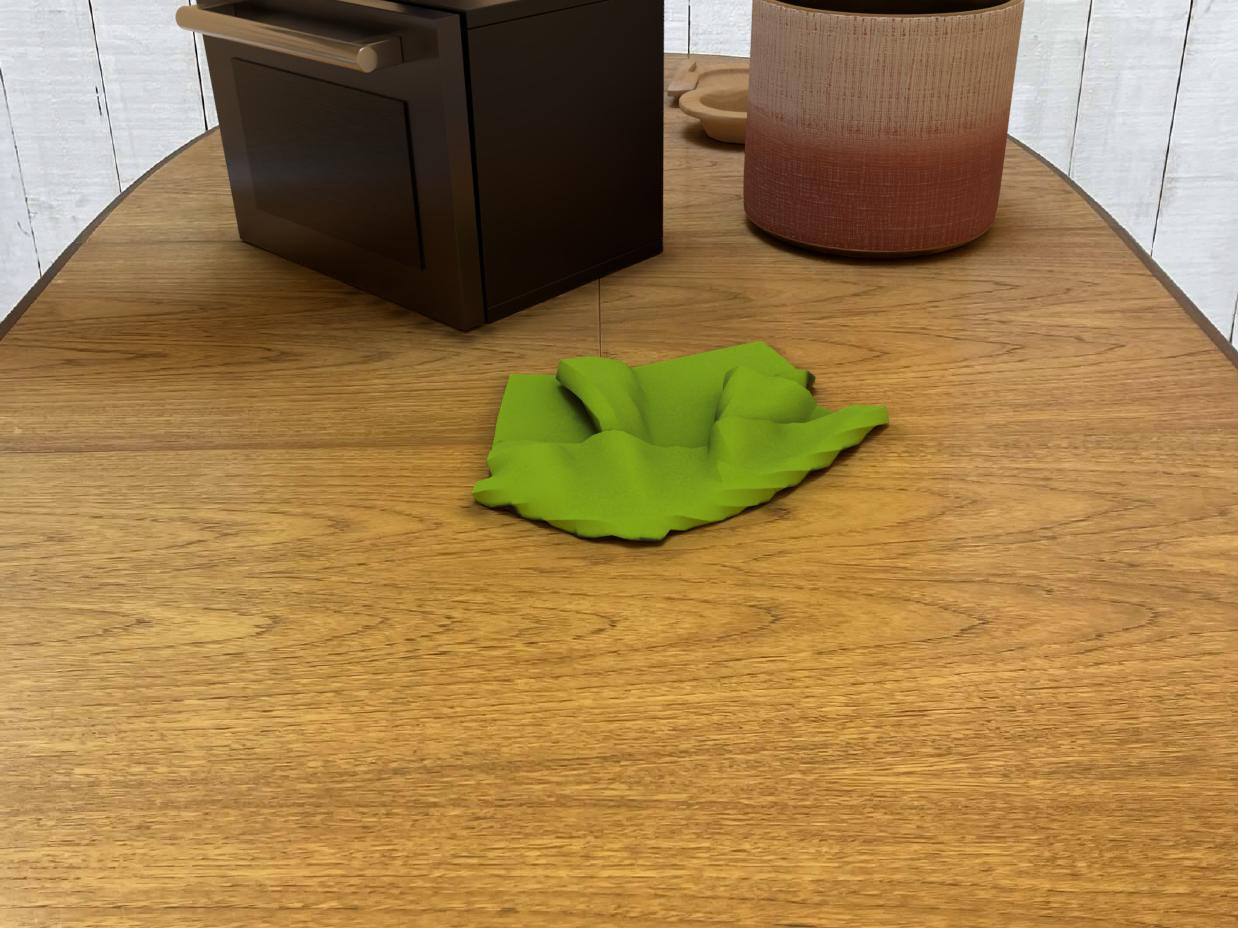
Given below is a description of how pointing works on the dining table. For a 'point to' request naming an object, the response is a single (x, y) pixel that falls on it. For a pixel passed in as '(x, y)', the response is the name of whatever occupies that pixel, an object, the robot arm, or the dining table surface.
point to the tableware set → (714, 97)
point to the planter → (878, 122)
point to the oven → (561, 140)
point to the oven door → (350, 143)
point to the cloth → (661, 441)
